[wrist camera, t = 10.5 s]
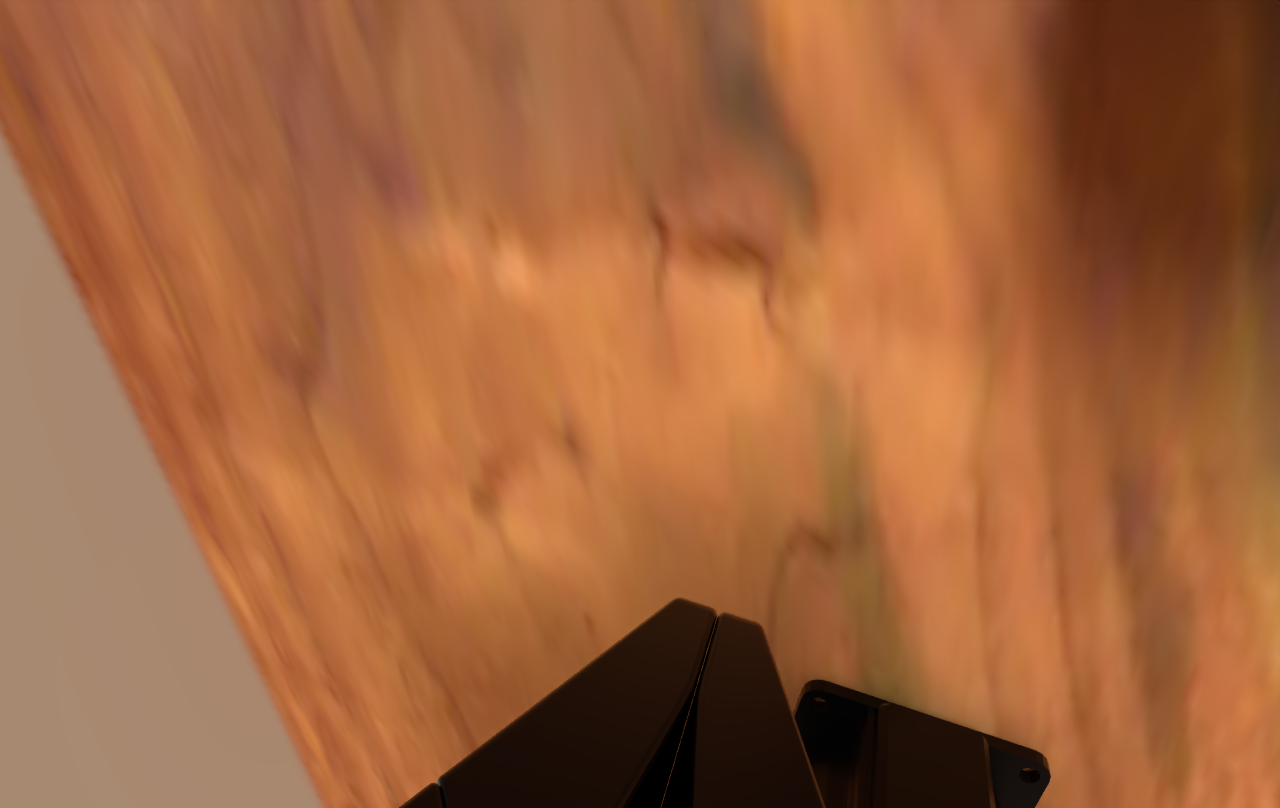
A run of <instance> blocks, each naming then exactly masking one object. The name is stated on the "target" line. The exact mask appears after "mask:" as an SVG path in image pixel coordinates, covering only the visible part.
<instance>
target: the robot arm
mask: <svg viewBox="0 0 1280 808" xmlns="http://www.w3.org/2000/svg"><path fill="white" fill-rule="evenodd" d="M716 619H717V621H716ZM715 622H716V624H715ZM714 625H715V627H714ZM713 629H714V631H713ZM712 632H713V634H712ZM711 636H712V638H711ZM710 639H711V641H710ZM709 642H710V644H709ZM708 646H709V648H708ZM707 649H708V651H707ZM706 652H707V654H706ZM705 656H706V658H705ZM704 659H705V661H704ZM703 663H704V665H703ZM702 666H703V668H702ZM701 669H702V671H701ZM700 673H701V675H700ZM699 676H700V678H699ZM698 679H699V681H698ZM697 683H698V685H697ZM696 686H697V688H696ZM695 690H696V692H695ZM694 693H695V695H694ZM693 696H694V698H693ZM816 697H821V698H824V699H825V700H827V701H825V702H818V701H816V700H815V699H813V698H816ZM692 700H693V702H692ZM691 703H692V705H691ZM690 706H691V708H690ZM689 710H690V712H689ZM688 713H689V715H688ZM687 717H688V719H687ZM686 720H687V722H686ZM685 723H686V725H685ZM684 727H685V729H684ZM683 730H684V732H683ZM682 734H683V736H682ZM681 737H682V739H681ZM680 740H681V742H680ZM679 744H680V746H679ZM678 747H679V749H678ZM677 750H678V752H677ZM676 754H677V756H676ZM675 757H676V759H675ZM674 761H675V763H674ZM673 764H674V766H673ZM672 767H673V769H672ZM1025 768H1033V769H1035V770H1033V771H1024V770H1022V769H1025ZM671 771H672V773H671ZM670 774H671V776H670ZM669 777H670V779H669ZM1050 778H1051V775H1050V770H1049V764H1048V761H1047V759H1046V758H1045V757H1044V755H1043V754H1041V753H1039V752H1037V751H1035V750H1033V749H1029V748H1026V747H1023V746H1020V745H1017V744H1014V743H1011V742H1008V741H1005V740H1002V739H999V738H996V737H993V736H990V735H987V734H984V733H981V732H978V731H975V730H972V729H969V728H966V727H963V726H960V725H957V724H954V723H951V722H948V721H945V720H942V719H939V718H936V717H933V716H930V715H927V714H924V713H921V712H918V711H915V710H912V709H909V708H906V707H903V706H900V705H897V704H894V703H891V702H888V701H885V700H882V699H879V698H876V697H873V696H870V695H867V694H864V693H861V692H858V691H855V690H852V689H849V688H846V687H843V686H840V685H837V684H834V683H831V682H828V681H824V680H812V681H810V682H808V683H806V684H805V686H804V687H803V689H802V691H801V694H800V697H799V699H798V702H797V705H796V707H795V710H794V713H792V710H791V707H790V704H789V701H788V698H787V695H786V692H785V689H784V687H783V684H782V681H781V678H780V675H779V672H778V669H777V666H776V663H775V661H774V658H773V655H772V652H771V649H770V646H769V643H768V640H767V637H766V635H765V632H764V629H763V627H762V626H761V625H760V624H759V623H757V622H754V621H751V620H748V619H745V618H742V617H739V616H736V615H733V614H730V613H726V612H724V613H721V614H720V615H719V616H718V618H717V613H716V611H715V610H714V609H713V608H711V607H708V606H705V605H702V604H699V603H696V602H693V601H690V600H687V599H684V598H676V599H674V600H672V601H671V602H669V603H668V604H667V605H665V606H664V607H663V608H662V609H660V610H659V611H658V612H656V613H655V614H654V615H652V616H651V617H650V618H648V619H647V620H646V621H644V622H643V623H642V624H640V625H639V626H638V627H637V628H635V629H634V630H633V631H631V632H630V633H629V634H627V635H626V636H625V637H623V638H622V639H621V640H619V641H618V642H617V643H615V644H614V645H613V646H612V647H610V648H609V649H608V650H606V651H605V652H604V653H602V654H601V655H600V656H598V657H597V658H596V659H594V660H593V661H592V662H590V663H589V664H588V665H587V666H585V667H584V668H583V669H581V670H580V671H579V672H577V673H576V674H575V675H573V676H572V677H571V678H569V679H568V680H567V681H566V682H564V683H563V684H562V685H560V686H559V687H558V688H556V689H555V690H554V691H552V692H551V693H550V694H548V695H547V696H546V697H544V698H543V699H542V700H541V701H539V702H538V703H537V704H535V705H534V706H533V707H531V708H530V709H529V710H527V711H526V712H525V713H523V714H522V715H521V716H519V717H518V718H517V719H516V720H514V721H513V722H512V723H510V724H509V725H508V726H506V727H505V728H504V729H502V730H501V731H500V732H498V733H497V734H496V735H494V736H493V737H492V738H491V739H489V740H488V741H487V742H485V743H484V744H483V745H481V746H480V747H479V748H477V749H476V750H475V751H473V752H472V753H471V754H469V755H468V756H467V757H466V758H464V759H463V760H462V761H460V762H459V763H458V764H456V765H455V766H454V767H452V768H451V769H450V770H448V771H447V772H446V773H444V774H443V775H442V776H441V777H440V778H439V779H438V783H437V784H436V783H431V784H429V785H428V786H427V787H425V788H424V789H423V790H421V791H420V792H419V793H417V794H416V795H415V796H414V797H412V798H411V799H410V800H408V801H407V802H406V803H404V804H403V805H402V806H401V807H399V808H1035V806H1036V805H1037V803H1038V801H1039V799H1040V798H1041V796H1042V794H1043V792H1044V791H1045V789H1046V787H1047V785H1048V784H1049V782H1050ZM668 781H669V783H668ZM667 784H668V786H667ZM666 788H667V790H666ZM665 791H666V793H665ZM664 794H665V796H664ZM663 798H664V800H663ZM662 801H663V803H662ZM661 804H662V807H661Z"/></svg>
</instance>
